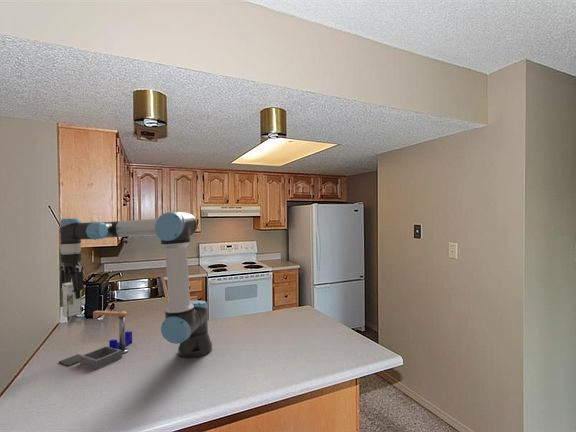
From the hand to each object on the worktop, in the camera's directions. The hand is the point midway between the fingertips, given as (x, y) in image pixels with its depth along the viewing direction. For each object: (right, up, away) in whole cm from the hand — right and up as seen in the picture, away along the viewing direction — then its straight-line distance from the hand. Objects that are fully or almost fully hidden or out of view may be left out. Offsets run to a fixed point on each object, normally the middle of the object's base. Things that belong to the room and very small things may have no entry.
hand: (72, 304), depth 138 cm
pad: (+1, -25, 0) cm, 25 cm away
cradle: (+14, -24, -1) cm, 28 cm away
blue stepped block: (+14, -25, +13) cm, 31 cm away
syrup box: (0, -5, 0) cm, 5 cm away
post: (+18, -24, +8) cm, 31 cm away
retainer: (+12, -9, +9) cm, 17 cm away
